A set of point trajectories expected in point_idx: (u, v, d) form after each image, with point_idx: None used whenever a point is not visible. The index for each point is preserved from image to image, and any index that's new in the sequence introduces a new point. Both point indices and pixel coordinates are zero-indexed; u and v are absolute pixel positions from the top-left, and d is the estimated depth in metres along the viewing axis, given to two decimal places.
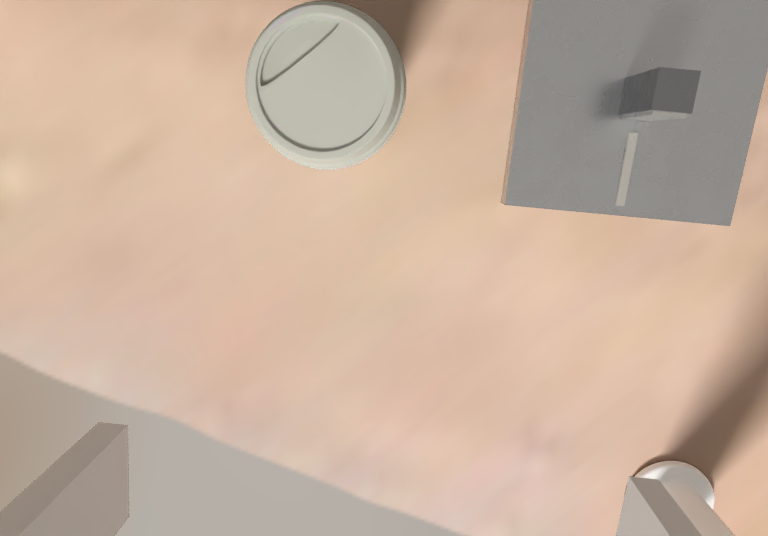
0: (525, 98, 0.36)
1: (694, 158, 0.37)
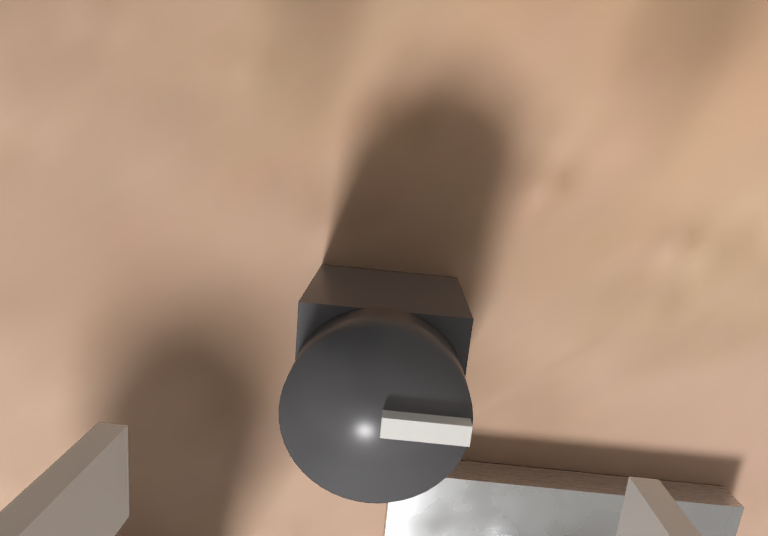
0: None
1: None
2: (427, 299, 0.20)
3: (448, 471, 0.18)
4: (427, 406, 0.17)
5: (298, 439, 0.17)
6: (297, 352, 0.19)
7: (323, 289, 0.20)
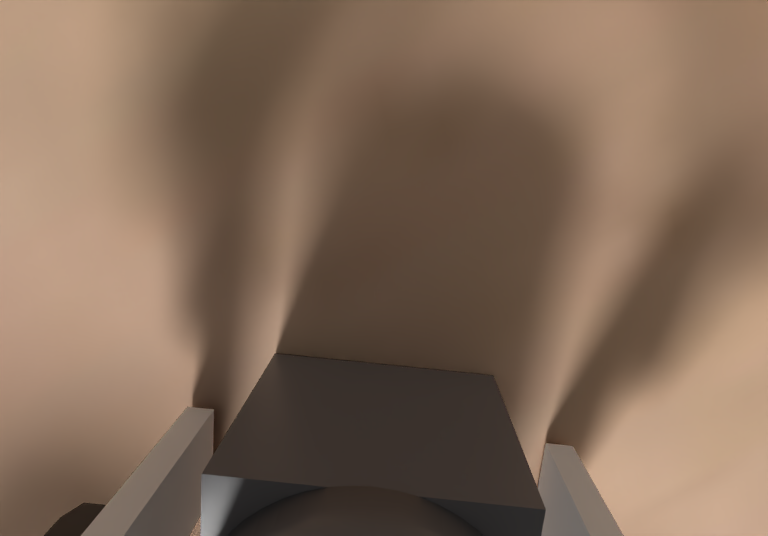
0: None
1: None
2: (451, 445, 0.11)
3: None
4: None
5: None
6: None
7: (261, 426, 0.11)
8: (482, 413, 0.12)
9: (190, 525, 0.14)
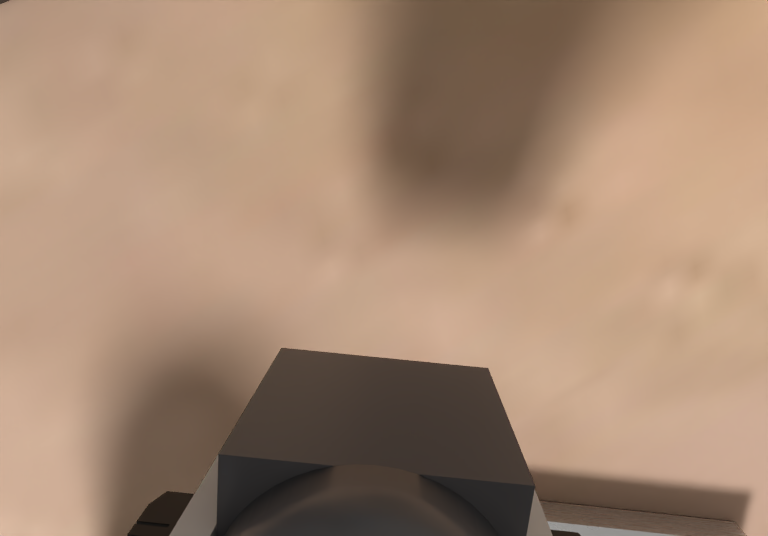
0: None
1: None
2: (448, 430, 0.12)
3: None
4: None
5: None
6: None
7: (271, 413, 0.12)
8: (477, 402, 0.13)
9: None
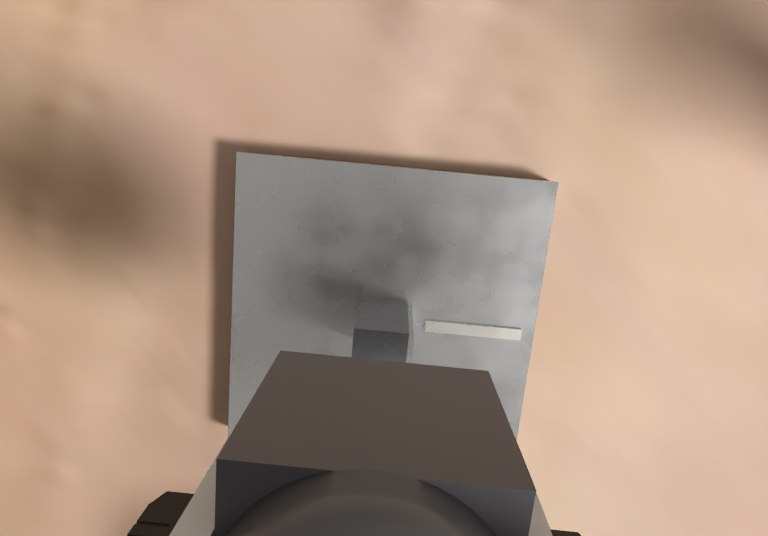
0: None
1: (461, 243, 0.27)
2: (448, 433, 0.12)
3: None
4: None
5: None
6: None
7: (270, 416, 0.12)
8: (477, 405, 0.13)
9: None
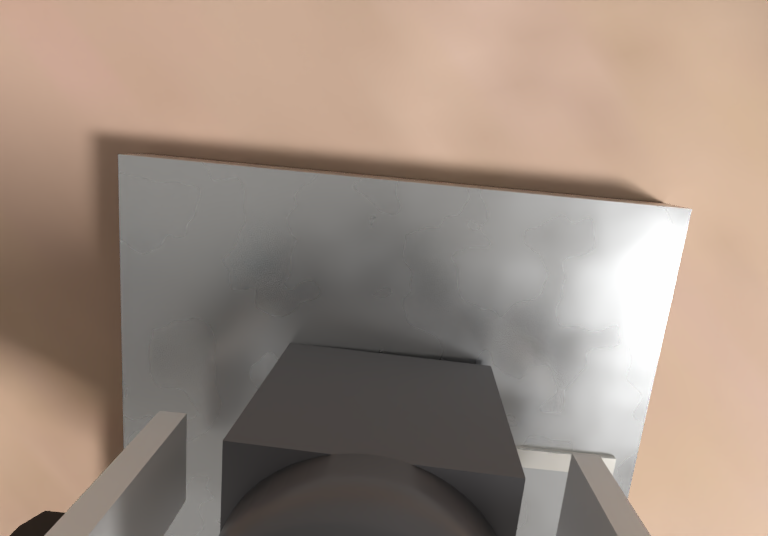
0: None
1: (515, 313, 0.16)
2: (445, 423, 0.12)
3: None
4: None
5: None
6: (223, 522, 0.11)
7: (275, 403, 0.12)
8: (477, 398, 0.14)
9: (160, 532, 0.13)
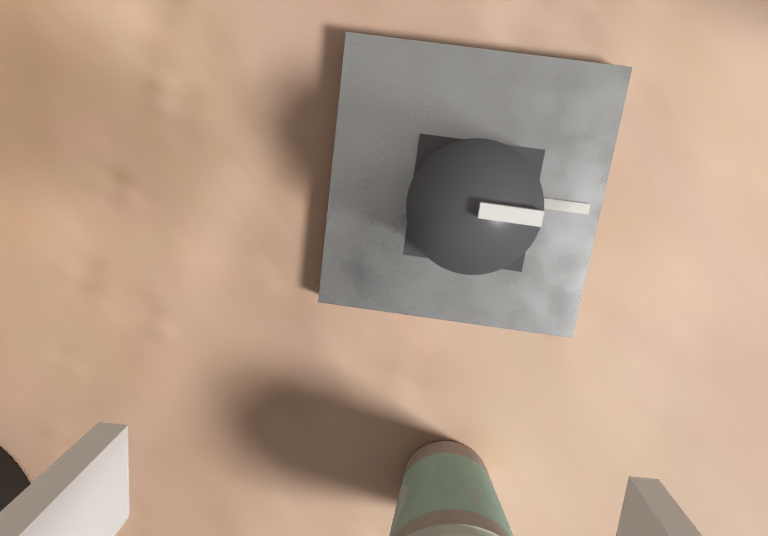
0: (456, 315, 0.33)
1: (541, 121, 0.30)
2: None
3: (523, 253, 0.25)
4: (511, 199, 0.24)
5: (418, 222, 0.25)
6: (415, 172, 0.26)
7: None
8: None
9: None
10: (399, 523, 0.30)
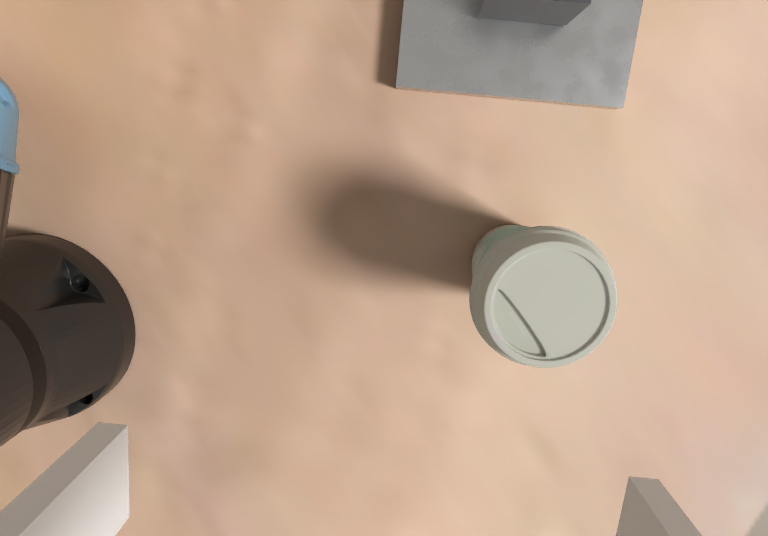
0: (519, 92, 0.37)
1: None
2: None
3: None
4: None
5: None
6: None
7: None
8: None
9: None
10: (485, 253, 0.34)
